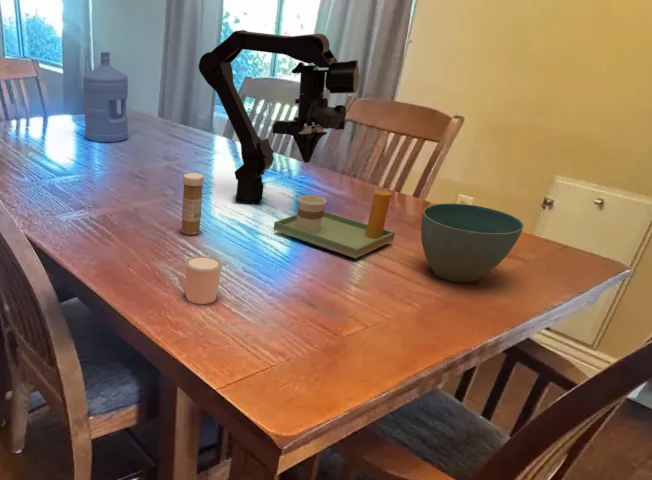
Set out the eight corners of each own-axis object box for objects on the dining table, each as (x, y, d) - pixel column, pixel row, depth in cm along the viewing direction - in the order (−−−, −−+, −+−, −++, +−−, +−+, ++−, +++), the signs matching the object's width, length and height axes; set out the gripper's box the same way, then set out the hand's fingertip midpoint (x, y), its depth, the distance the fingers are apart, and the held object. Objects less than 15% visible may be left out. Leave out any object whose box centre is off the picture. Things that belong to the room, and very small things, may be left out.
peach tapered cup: (180, 289, 118) (182, 255, 115) (215, 288, 119) (218, 255, 115) (185, 305, 113) (187, 270, 109) (222, 305, 113) (225, 270, 109)
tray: (273, 230, 144) (279, 184, 138) (312, 215, 153) (320, 172, 148) (355, 258, 131) (366, 209, 125) (393, 240, 140) (405, 194, 134)
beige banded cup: (288, 228, 143) (292, 198, 139) (304, 222, 147) (309, 193, 143) (310, 236, 139) (316, 205, 135) (326, 229, 143) (332, 200, 139)
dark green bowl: (389, 263, 131) (403, 208, 125) (453, 252, 137) (469, 198, 131) (455, 299, 117) (475, 238, 111) (522, 285, 123) (545, 226, 117)
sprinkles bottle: (194, 227, 147) (197, 171, 140) (203, 234, 144) (207, 176, 136) (177, 230, 145) (179, 173, 138) (186, 236, 142) (189, 178, 135)
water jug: (80, 141, 218) (76, 54, 203) (91, 132, 231) (88, 49, 216) (123, 144, 216) (122, 56, 201) (131, 134, 229) (131, 51, 214)
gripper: (306, 96, 135) (301, 169, 142) (365, 92, 143) (358, 161, 150) (272, 95, 144) (269, 165, 150) (330, 92, 152) (324, 158, 159)
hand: (306, 162), depth 152 cm, fingers closed
